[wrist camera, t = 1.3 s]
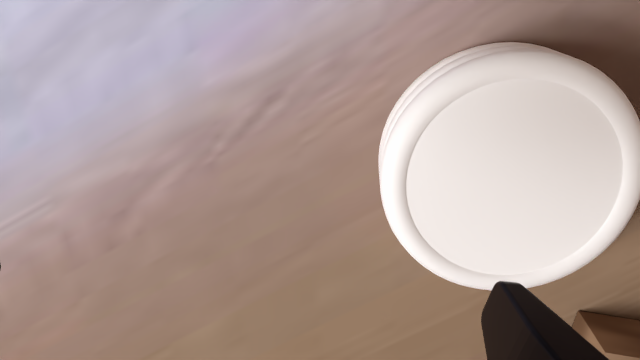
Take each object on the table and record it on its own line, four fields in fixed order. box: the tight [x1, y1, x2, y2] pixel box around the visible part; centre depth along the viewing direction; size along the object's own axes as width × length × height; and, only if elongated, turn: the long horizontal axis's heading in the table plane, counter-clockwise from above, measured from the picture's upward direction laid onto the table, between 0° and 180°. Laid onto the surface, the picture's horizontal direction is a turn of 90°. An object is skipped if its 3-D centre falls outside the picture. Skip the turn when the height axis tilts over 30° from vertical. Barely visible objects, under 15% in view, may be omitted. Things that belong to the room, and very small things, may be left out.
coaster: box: [378, 42, 640, 290], centre depth 21 cm, size 10×10×4 cm
